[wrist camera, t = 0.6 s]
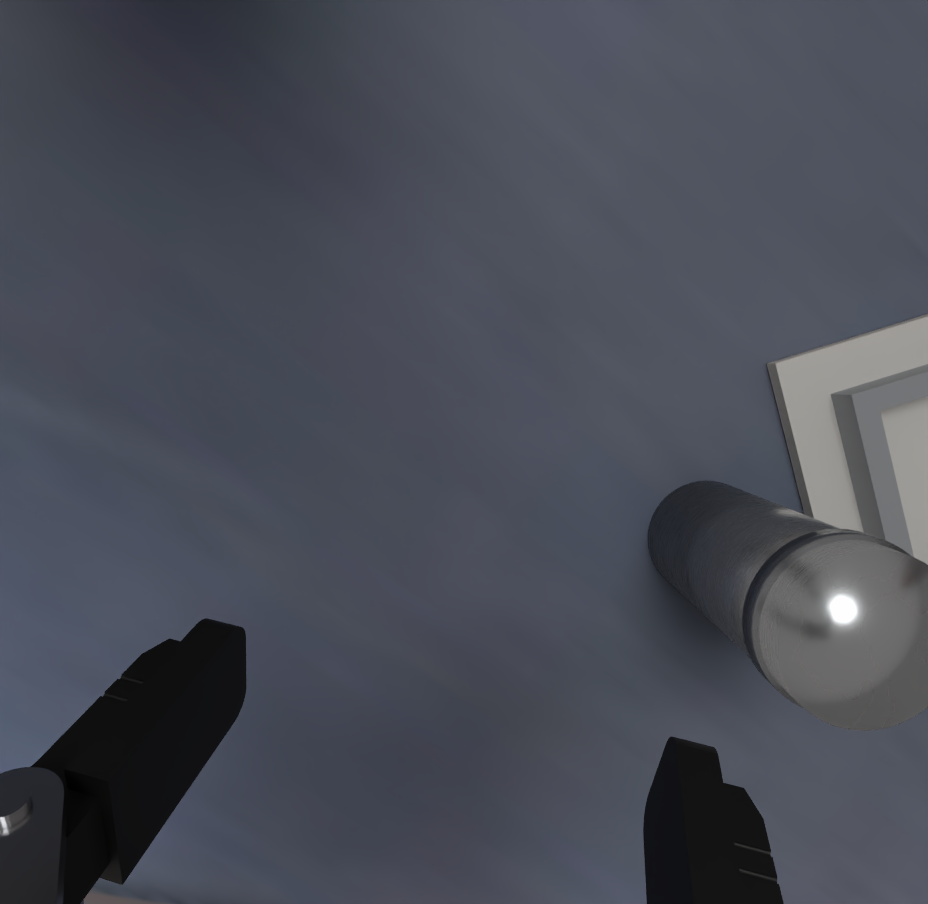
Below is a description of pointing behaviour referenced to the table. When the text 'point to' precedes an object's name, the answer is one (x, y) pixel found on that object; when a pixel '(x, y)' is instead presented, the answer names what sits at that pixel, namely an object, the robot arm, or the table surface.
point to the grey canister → (802, 601)
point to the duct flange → (861, 432)
